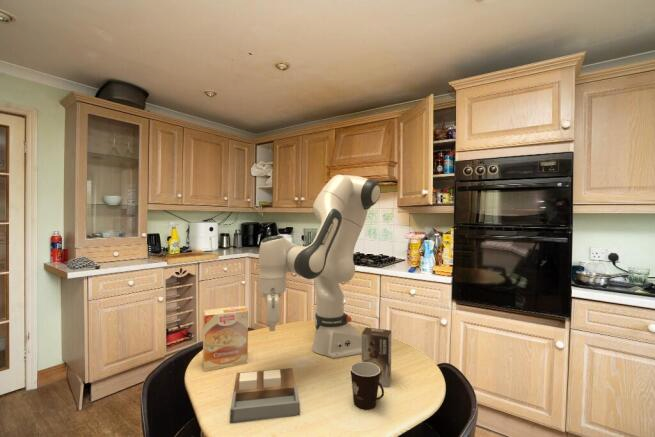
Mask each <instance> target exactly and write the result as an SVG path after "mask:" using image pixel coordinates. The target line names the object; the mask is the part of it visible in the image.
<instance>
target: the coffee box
mask: <svg viewBox="0 0 655 437" xmlns="http://www.w3.org/2000/svg"><path fill="white" fill-rule="evenodd" d="M360 335H361V338H362V353H361V362H369V363H373V364H375V365H377V366H378V367H379V368H380V378H379V383H380V384H381V385H382V387H386V388H389V387H390V385H391V381H392V330H391V329H381V328H374V327H365V328H364V329H363V331H362V332H361V333H360Z"/></svg>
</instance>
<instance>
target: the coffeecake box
mask: <svg viewBox="0 0 655 437" xmlns="http://www.w3.org/2000/svg"><path fill="white" fill-rule="evenodd" d="M202 320H203V321H202V322H203V325H202V326H203V327H202V328H203V332H202V333H203V334H202V340H203V341H202V367H203V372H207V371H214V370H217V369H223V368H228V367H229V368H230V367H234V366H235V367H236V366H239V365H244V364H248V353H249V352H248V349H249V347H248V346H249V344H248V342H249V340H248V339H249V310H248V308H247V307H246V305H239V306H230V307H228V306H227V307H221V308H219V307H218V308H210V309H209V308H208V309H203V319H202Z"/></svg>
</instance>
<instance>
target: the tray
mask: <svg viewBox="0 0 655 437" xmlns="http://www.w3.org/2000/svg"><path fill="white" fill-rule="evenodd" d="M299 397H300V396H299V391H298V387H297V385H296V386H294V396H285V397H275V398H265V399H256V400H246V401H236V392H234V391H233V392H232V398H231V404H230V412H229V417H230V418H229V423H230V424H236V423H243V422H244V423H245V422H253V421H261V420H269V419H278V418H285V417H287V418H288V417H296V416H300V415H301V414H300V412H301V410H300V409H301V407H300V404H301V403H300V402H301V401H300V399H299Z"/></svg>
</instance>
